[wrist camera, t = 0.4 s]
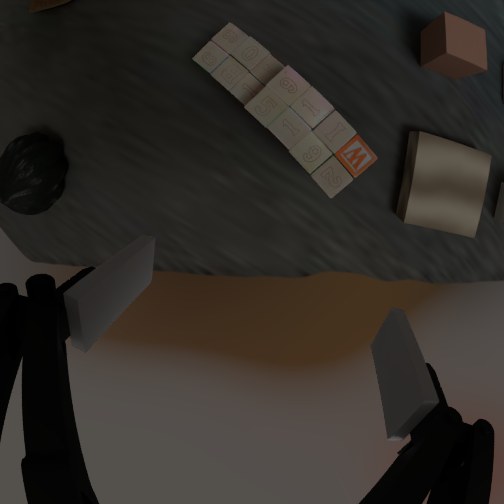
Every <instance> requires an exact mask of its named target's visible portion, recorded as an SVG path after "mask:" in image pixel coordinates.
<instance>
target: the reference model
mask: <svg viewBox="0 0 504 504" xmlns="http://www.w3.org/2000/svg"><path fill="white" fill-rule="evenodd" d="M503 104H504V65H503Z"/></svg>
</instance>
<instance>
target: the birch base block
mask: <svg viewBox="0 0 504 504" xmlns="http://www.w3.org/2000/svg"><path fill="white" fill-rule="evenodd" d="M490 162H491V155H489V154H486V153H484V152H481V151H479V150H476V149H473V148H471V147H468V146H465V145H462V144H459V143H456V142H453V141H450V140H447V139H444V138H441V137H438V136H435V135H431V134H428V133H425V132H421V131H409V139H408V147H407V154H406V161H405V167H404V173H403V179H402V185H401V190H400V196H399V201H398V206H397V211H396V216H397V217H399V218H400V219H401V220H402V221H403V222H404V223H408V224H413V225H418V226H423V227H428V228H432V229H437V230H442V231H446V232H451V233H455V234H460V235H464V236H468V237H472V238H474V237H475V234H476V230H477V226H478V222H479V218H480V214H481V210H482V206H483V201H484V196H485V191H486V186H487V181H488V175H489V169H490Z"/></svg>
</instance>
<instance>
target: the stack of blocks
mask: <svg viewBox="0 0 504 504" xmlns="http://www.w3.org/2000/svg"><path fill="white" fill-rule="evenodd" d="M192 59H193V60H194V61H195V62H196V63H197V64H199V65H200V66H201V67H202V68H203V69H205V70H206V71H207V72H208V73H210V75H211V76H212V77H213V78H215V79H216V80H217V81H218V82H219V83H220V84H221V85H223V86H224V87H225V88H226V89H227V90H228V91H229V92H230V93H231V94H233V95H234V96H235V97H236V98H237V99H238V100H239V101H240V102H241V103H243V104H244V105H245V106H244V108H245V109H246V110H247V111H248V112H249V113H250V114H252V115H253V116H254V117H255V118H256V119H257V120H258V121H259V122H260V123H261V124H262V125H263V126H264V127H265V128H268V129H269V130H270V131H271V132H272V133H273V134H274V135H275V136H276V137H277V138H278V139H279V140H280V141H281V142H282V143H283V145H284V146H285V147H286V148H287V149H288V150H289V153H290V154H291V155H292V156H293V157H294V158H295V159H296V160H297V161H298V162H299V163H300V164H301V165H302V166H303V168H304V169H305V170H306V171H307V172H308V173H309V174H310V175H311V177H312V178H313V179H314V180H315V181H316V183H317V184H318V185H319V186H320V187H321V188H322V189H323V191H324V192H325V193H326V194H327V195H328V196H329V197H330V198H332V197H333V196H335V195H336V194H337V193H338V192H339V191H341V190H342V189H343V188H344V187H345V186H347V185H348V184H349V183H350V182H352V181H353V178H355V177H357V176H358V175H360V174H361V173H362V172H363V171H364V170H365V169H367V168H368V167H369V166H370V165H371V164H372V163H374V162H375V161H376V160H377V157H376V155H375V154H374V153H373V152H372V151H371V149H370V148H369V147H368V146H367V145H366V143H365V142H364V141H363V140H362V139H361V138H360V136H359V135H357V133H356V131H355V130H354V129H353V128H352V127H351V126H350V125H349V124H348V122H347V121H346V120H345V119H344V118H343V117H342V116H341V115H340V114H339V113H338V112H337V111H336V110H334V107H333V106H332V105H331V104H330V103H329V102H328V101H327V100H326V99H325V98H324V97H323V96H322V95H321V94H320V93H319V92H318V91H317V90H316V89H315V88H314V87H312V86H311V85H310V84H309V83H308V82H307V81H306V80H305V79H304V78H302V77H301V76H300V75H299V74H298V73H297V72H296V71H295V70H293V69H292V68H291V67H290V66H289V65H287V66H286V67H285V66H284V65H283V64H281V63H280V62H279V61H278V60H277V59H276V58H275V57H273V56H272V55H271V54H270V52H269V51H268V50H267V49H266V48H264V47H263V46H262V45H261V44H260V43H258V42H257V41H256V40H255V39H253V38H252V37H249V36H248V35H246V34H245V33H244V32H243V31H241V30H240V29H239V28H237V27H236V26H235V25H233V24H232V23H231V22H230V23H228V24H227V25H226V26H225V27H224V28H223V29H222V30H221V31H220V32H218V33H217V34H216V35H215V36H214V37H213V38H212V39H211V41H210V42H208V43H207V44H206V45H205V46H204V47H203V48H202V49H201V50H200V51H199V52H198V53H197V54H196V55H195V56H194V57H193V58H192Z"/></svg>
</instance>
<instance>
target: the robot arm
mask: <svg viewBox="0 0 504 504" xmlns="http://www.w3.org/2000/svg"><path fill="white" fill-rule="evenodd" d="M154 248H155V238H153V237H150V236H146V235H142V236H141V237H139V238H138V239H136V240H135V241H133V242H132V243H130V244H129V245H128V246H126V247H125V248H123V249H122V250H120V251H119V252H118V253H116V254H115V255H113V256H112V257H111V258H109V259H108V260H107V261H105V262H104V263H102V264H101V265H100V266H98V267H97V268H95V267H92V266H91V267H88V268H85V269H82V270H81V271H80V272H78V273H77V274H76V275H75V276H73V277H72V278H70V280H67V281H66V282H65V283H63V284H62V285H61V286H60V287H58V288H57V289H56V286H55V280H54V278H53V277H52V276H50V275H47V274H36V275H34V276H31V277H30V278H29V279H28V280H27V281H26V283H25V284H26V289H27V295H28V297H26V296H22V295H19V294H18V289H17V286H16V285H14V284H12V283H2V284H0V441H1V435H2V429H3V425H4V420H5V416H6V411H7V407H8V403H9V400H10V396H11V392H12V388H13V385H14V381H15V378H16V375H17V371H18V368H19V365H20V362H21V359H22V356H23V362H22V414H23V415H22V416H23V431H24V442H25V451H26V456H25V458H23V459H22V462H21V467H22V468H21V469H22V475H23V482H24V487H25V492H26V497H27V501H28V504H99V502H98V500H97V497H96V495H95V493H94V491H93V489H92V486H91V483H90V480H89V477H88V473H87V470H86V466H85V462H84V458H83V454H82V451H81V446H80V442H79V437H78V432H77V428H76V422H75V417H74V411H73V404H72V398H71V391H70V383H69V374H68V364H67V353H66V343H65V340H66V339H67V338H68V337H69V336H70V337H71V343H72V346H74V347H76V348H78V349H80V350H82V351H83V352H87V351H88V349H89V348H90V347H91V346H92V345H93V344H94V343H95V342H96V341H97V339H98V338H99V337H100V336H101V335H102V334H103V333H104V332H105V331H106V330H107V328H108V327H109V326H110V325H111V324H112V323H113V322H114V321H115V320H116V319H117V318H118V317H119V315H120V314H121V313H122V312H123V311H124V310H125V309H126V308H127V307H128V306H129V305H130V303H132V302H133V301H134V299H136V297H137V296H138V295H139V294H140V293H141V292H142V291H143V290H144V289H145V288H146V287H147V286H148V285H149V284H150V283H151V282H152V270H153V259H154ZM371 349H372V354H373V359H374V363H375V368H376V373H377V378H378V384H379V389H380V394H381V400H382V406H383V411H384V418H385V424H386V430H387V438H388V440H396V441H402V440H403V439H404V438H405V437H406V436H407V435H408V434H410V436H411V441H410V442H409V443H407V445H405V446H404V447H403V448H402V449H401V450H400V451H399V452H398V454H399V456H398V457H397V458H396V460H395V461H394V462H393V464H392V465H391V466H390V467H389V469H388V470H387V471H386V473H385V474H384V475H383V476H382V477H381V479H380V480H379V481H378V482H377V483H376V485H375V486H374V487H373V488H372V489H371V491H370V492H369V493H368V494H367V495H366V496H365V497H364V498H363V499H362V500H361V502H360V503H359V504H422V503H423V501H424V500H425V498H426V497H427V495H428V493H429V491H430V490H431V491H430V495H429V497H428V501H427V504H489V498H490V491H491V483H492V472H493V459H494V430H493V427H492V425H491V424H490V423H489V422H488V421H486V420H484V419H478V420H477V421H476V422H475V423H474V424H473V425H470V424H467V423H464V422H463V421H462V417H461V415H460V414H459V412H457V411H456V409H454V408H452V407H448V405H447V402H446V399H445V396H444V394H443V391H442V388H441V387H440V383H439V380H438V377H437V375H436V372H435V371H434V369H433V368H432V367H431V365H430V364H429V363H425V361H424V358H423V355H422V353H421V351H420V348H419V346H418V343H417V341H416V338H415V336H414V333H413V331H412V329H411V327H410V324H409V322H408V320H407V317H406V315H405V313H404V311H403V310H401V309H398V308H394V307H391V309H390V311H389V313H388V315H387V317H386V319H385V321H384V322H383V324H382V326H381V328H380V330H379V331H378V333H377V335H376V337H375V339H374V341H373V342H372V344H371Z"/></svg>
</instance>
